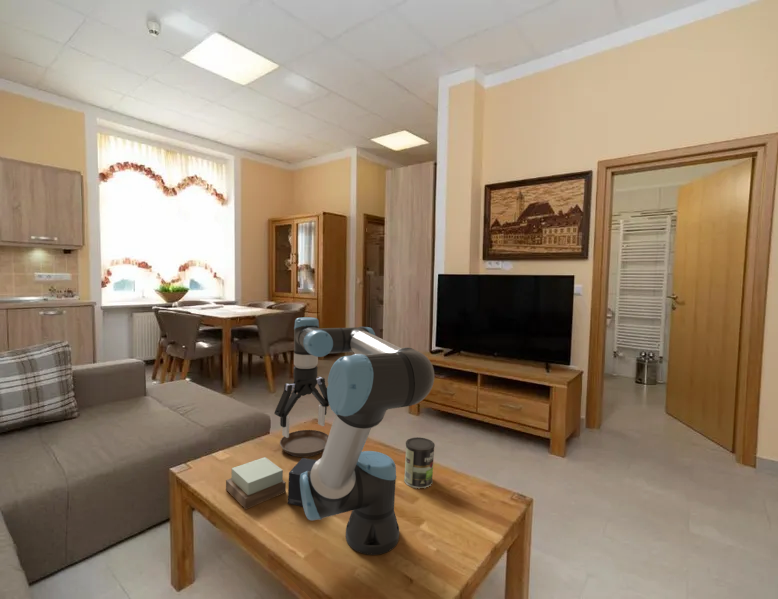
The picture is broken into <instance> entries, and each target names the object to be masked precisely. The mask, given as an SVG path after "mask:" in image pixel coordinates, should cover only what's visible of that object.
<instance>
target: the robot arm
mask: <svg viewBox="0 0 778 599" xmlns="http://www.w3.org/2000/svg"><path fill="white" fill-rule="evenodd" d="M293 330H294V331H293V332H294V333H293V334H294V335H293V336H294V337H293V338H294V339H293V343H294V344H293V383H287V382H286V383H285V384H284V386H283V392H282V394H281V396H280V399H279V401H278V403H277V406H276V408H275V410H274V415H276V416H277V417H279V418H280V419H279V421H280V422H279V424H280V427H281V436H282V437H286V438H288V437H289V433H290V416H289V413H290V412H291V410H292V409H293V407H294V406H295V404H296V403H297V401H298V400H299V399H301V397H305V396H306V395H311V394H312V395H313V397H314V398H315V399H316V400H317V401H318V403H319V404H318V409H317V410H318V412H317V413H318V414H317V415H318V416H317V425H320V426H321V427H324V426H325V423H326V422H325V420H326V419H325V418H326V415H327V411H328V410H327V408H328V407H330V409H331V411H332V412H333V413H334V418H333V421H332V423H331V427H330V430H329V433H328V439H327V442H326V445H325V449H324V451H322V454H321V457H320V458H319V459H317V460H318V461H316V462H315V464H314V465H313V467H312V470H311V471H306V472H304V473H302V474H301V475H300V490H301V497H302V503H303V506H302V508H303V511H304V515H305V517H306V519H307V520H308V521H316V520H318V521H319V520H323V519H324V518H328V517H333V516H336V515H340V514H343V513H348V512H351V514H350V516H349V518H348V521H347V524H346V527H345V539H346V543H347V544H348V546H349V547H350V548H351V549H352V550H354V551H355V552H358V553H360V554H363V555H371V556H374V555H383V554H386V553H388V552H390V551H392V550H393V549H394V548H395V547H396V546H397V544H398V542H399V539H400V526H399V524H398V520H397V515H396V513H395V498H396V479H397V467H396V463H395V461H394V460H393V458H392V457H391V456H388V455H387V454H386V453H382V452H379V451H375V450H374V451H373V450H363V449H364V447H365V445H366V442H367V439H368V437H369V435H370V432H371V430H372V429H373V428H375V427H376V426H378V425H379V424H380V423H381V422H382V420H383V419H384V417H385V414H386V413H387V411H388V410H392V409H399V408H406V407H411V406H414V405H417V404H419V403H421V402H422V401H423V400H425V398H426V397H427V396H428V395H429V394H430V393H431V390H432V389H433V386H434V382H435V369H434V366H433V364H432V362H431V360H430V359H429V357H428V356H426V354H424V353H422V352H421V351H418V350H416V349H414V348H412V347H407V346H406V347H400V346H397V345H396V344H393V343H391V342H390V341H388V340H385V339H383V338H380V337H379V336H377V335H376V333H375V331H374V329H373V328H372V327H368V326H358V327H357V326H356V327H327V328H326V327H325V328H321V327H320V323H319V319H318V318H317V317H311V316H309V317H307V316H305V317H297V318H295V320H294V327H293ZM340 353H353V354H352V355H344V356H340V357H339V358H338V359H336V361H334V363H333V364H332V366H331V368H330V370H329V373H328V377H327V384H328V385H326V379H325V378H324V377H321V376H318V363H319V361H318V360H319V358H322V357H326V356H327V355H328V354H340ZM317 385H318V388H319V390H320V392H319V390H318V389H317V387H316V386H317Z"/></svg>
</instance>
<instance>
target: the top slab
mask: <svg viewBox="0 0 778 599" xmlns="http://www.w3.org/2000/svg"><path fill="white" fill-rule="evenodd" d="M283 476H284V469H282V468H281V467H279V466H278V465H277V464H276V463H274V462H273V461H271V460H270V459H269V458H267V457H266V456H264V457H261V458H258V459H255V460H252V461H249V462H246V463H244V464H241V465H238V466H235V467H231V478H232V479H231V478H230V479H231V480H232V481H233V482H234V483H235V484H236V485H237V486H239V487H240V488H241V489H242V490H243V491H244V492H245V493H246V494H247V495H251V494H253V493H256V492H258V491H261V490H263V489H266V488H268V487H271V486H273V485H276V484H278V483H281V482H283V481H284V479H283Z"/></svg>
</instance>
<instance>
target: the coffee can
mask: <svg viewBox="0 0 778 599" xmlns="http://www.w3.org/2000/svg"><path fill="white" fill-rule="evenodd" d="M435 448H436V447H435V442H434V441H433V440H431V439H429V438H424V437H411V438H408V439H407V440H406V441H405V462H404V476H403V477H404V478H403V479H404V480H403V481H404V483H405V484H406V486H408V487H410V488H413V489H417V488H418V489H419V490H421V489H420V488H424V489H427V488H426V487H428V488H430V487H431V486H432V485H433V473H434V456H435ZM431 484H432V485H431ZM429 486H430V487H429ZM418 489H417V490H418Z"/></svg>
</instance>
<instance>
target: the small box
mask: <svg viewBox="0 0 778 599" xmlns="http://www.w3.org/2000/svg"><path fill="white" fill-rule="evenodd" d="M318 460H319V459H313V458H311V459H310V458H306V457H301V459H300V460H299V461H298V462H297V463H296V464H295V465H294V466H293V467H292V469H291V470H290V471H289V472H288V484H287V486H288V489H287V505H293V506H299V507H303V503H302V497H301V490H300V475H301V474H302V473H304V472H306V471H311V470H312V467H313V465H314V464H315V462H316V461H318Z"/></svg>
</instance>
